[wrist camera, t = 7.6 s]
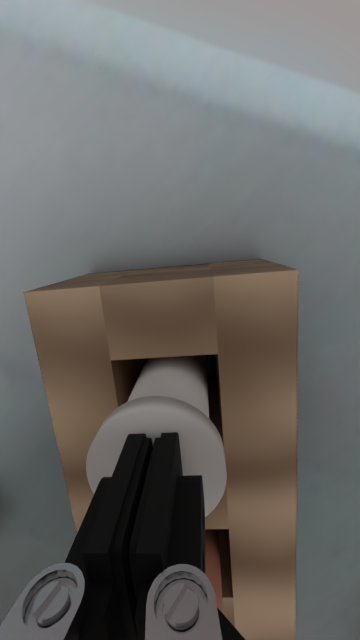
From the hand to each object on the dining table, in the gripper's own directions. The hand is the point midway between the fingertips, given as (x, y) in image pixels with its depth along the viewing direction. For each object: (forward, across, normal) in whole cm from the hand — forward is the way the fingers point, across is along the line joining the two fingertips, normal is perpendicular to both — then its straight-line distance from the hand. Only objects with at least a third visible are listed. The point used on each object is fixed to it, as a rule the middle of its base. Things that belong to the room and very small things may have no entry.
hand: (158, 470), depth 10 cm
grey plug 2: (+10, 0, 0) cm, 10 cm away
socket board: (+12, 0, +10) cm, 16 cm away
